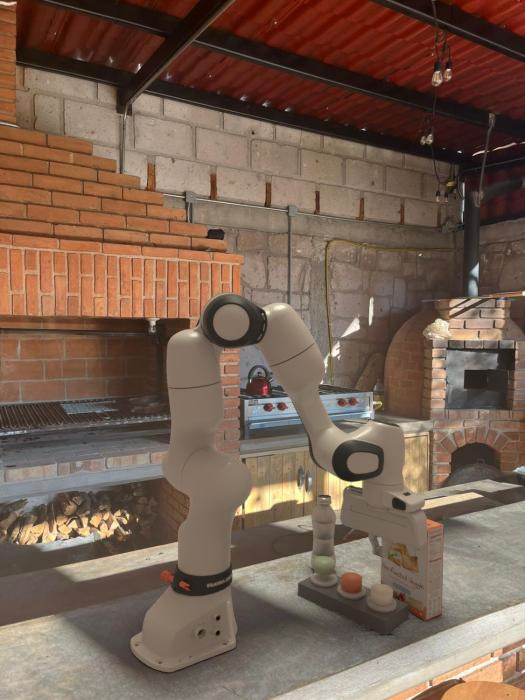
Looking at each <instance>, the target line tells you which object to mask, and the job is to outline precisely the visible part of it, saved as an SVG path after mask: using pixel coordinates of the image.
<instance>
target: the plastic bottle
mask: <svg viewBox="0 0 525 700" xmlns="http://www.w3.org/2000/svg"><path fill="white" fill-rule="evenodd" d="M316 504H317V505H316V506H315V507H314V509H313V510H312V512H311V517H310V518H311V525H312V536H313V537H312V538H313V539H312V540H313V541H312V542H313V543H312V552H311V557H310V564H311V568H312V569H313V570H314V559H315V558H316V557H319V556H328V557H331V558H333V559H334V569H335V568H336V566H337V565H336V564H337V559H336V554H335V543H334V542H335V541H334V540H335V538H334V537H335V529H336V528H335V527H336V521H337V515H336V512H335V510H334V508H333V507H332V506H331V504H332V496H331V495H329V494H321V493H320V494H318V495H316Z"/></svg>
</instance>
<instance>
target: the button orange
mask: <svg viewBox="0 0 525 700" xmlns="http://www.w3.org/2000/svg"><path fill="white" fill-rule="evenodd" d="M340 577H341V589H342V590H343V591H345V592H348V593H358V592H360V591H362V586H363V576H362V575H361V574H359V573H357V572H350V571H349V572H348V571H347V572H344V573H342V574H341V575H340Z"/></svg>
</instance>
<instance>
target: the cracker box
mask: <svg viewBox="0 0 525 700" xmlns="http://www.w3.org/2000/svg"><path fill="white" fill-rule="evenodd" d="M426 519H427V541H426V543H425V544H424V545H423V546H421V547H419V548H413V547H410V546H407V545H404V544H400V543H397V542H394V541H393V543H392V545H391V546H390V548H389V549H388V556H387V557H386V558H383V557H380V584H385V585H388V586H390V587H391V588H392V589H393V598H395V599H397V600H400V601H402V602H405V603H407V604H409V613H411V614H413V615H414V616H416V617H418V618H419V619H422V620H423V621H424V622H427V621H429V620H431V619H433V618H436V617H439V616H441V615H442V614H443V590H444V589H443V586H444V585H443V584H444V582H443V581H444V579H443V578H444V542H445V541H444V539H445V538H444V537H445V536H444V535H445V531H444V528H445V525H444V524H442V523H439V522H436V521H434V520H431V519H429V518H426ZM380 543H381V545H380V546H382V547H383V546H384V545H385V543H383V538H382V537H381V542H380Z"/></svg>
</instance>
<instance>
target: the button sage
mask: <svg viewBox="0 0 525 700" xmlns="http://www.w3.org/2000/svg"><path fill="white" fill-rule="evenodd" d="M313 570H314V573H317V574H320V575H331V574H335V573H334V572H335V568H334V559H333V558H331V557H328V556H319V557H316V558H315V559H314V569H313Z"/></svg>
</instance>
